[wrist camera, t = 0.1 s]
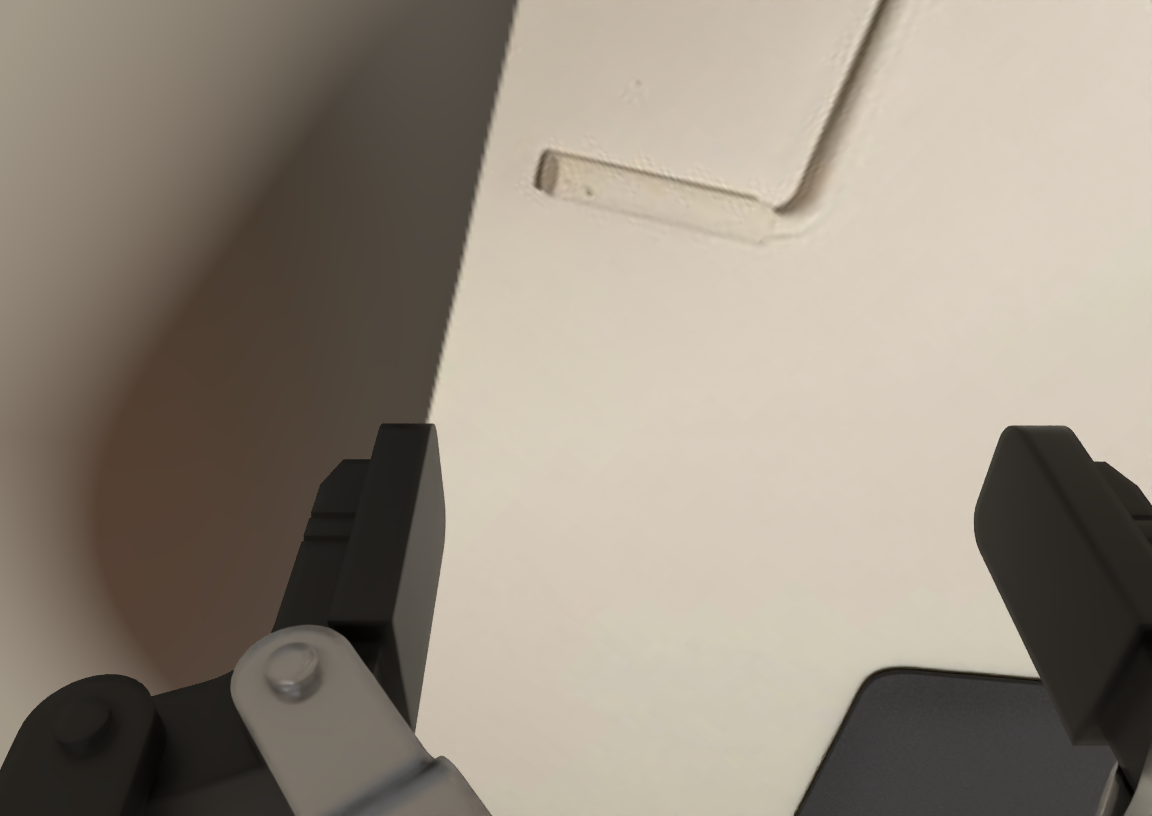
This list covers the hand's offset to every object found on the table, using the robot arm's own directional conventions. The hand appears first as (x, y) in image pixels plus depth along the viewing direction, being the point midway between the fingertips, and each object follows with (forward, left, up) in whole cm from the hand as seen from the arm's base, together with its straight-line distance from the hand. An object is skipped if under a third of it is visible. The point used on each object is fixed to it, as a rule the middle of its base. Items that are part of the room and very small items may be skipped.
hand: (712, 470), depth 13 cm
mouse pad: (+44, +24, -22) cm, 55 cm away
